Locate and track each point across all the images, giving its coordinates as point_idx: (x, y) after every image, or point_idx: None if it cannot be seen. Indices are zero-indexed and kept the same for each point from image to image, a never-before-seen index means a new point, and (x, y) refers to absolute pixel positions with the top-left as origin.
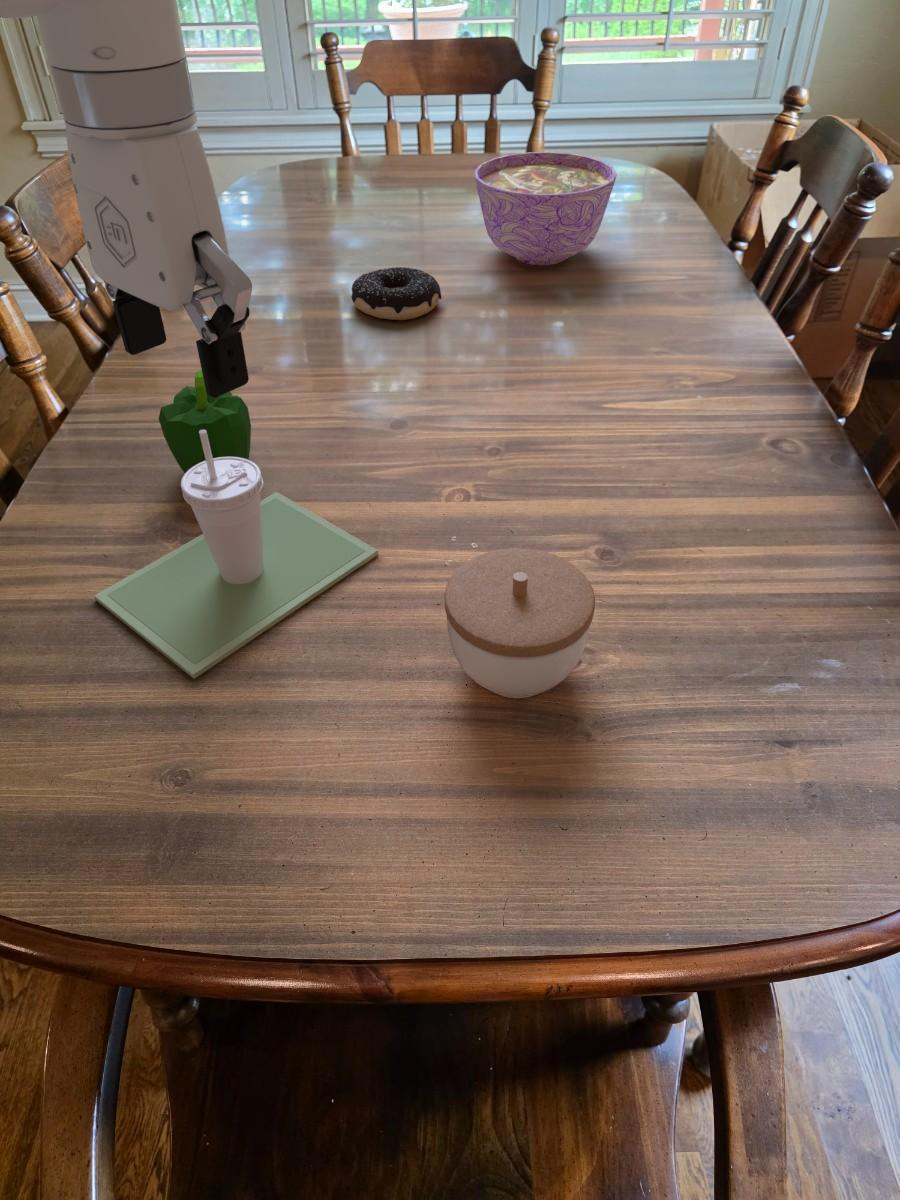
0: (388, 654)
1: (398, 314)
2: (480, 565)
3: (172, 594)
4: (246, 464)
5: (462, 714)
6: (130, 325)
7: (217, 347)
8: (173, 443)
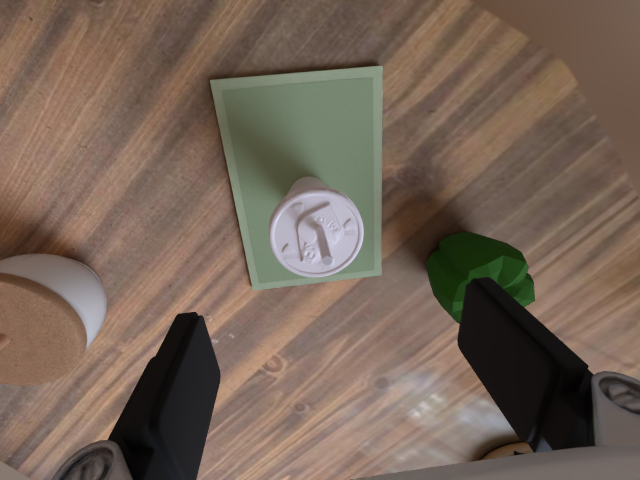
0: (139, 226)
1: (492, 457)
2: (59, 337)
3: (325, 128)
4: (320, 270)
5: (43, 228)
6: (503, 332)
7: (112, 439)
8: (482, 242)
